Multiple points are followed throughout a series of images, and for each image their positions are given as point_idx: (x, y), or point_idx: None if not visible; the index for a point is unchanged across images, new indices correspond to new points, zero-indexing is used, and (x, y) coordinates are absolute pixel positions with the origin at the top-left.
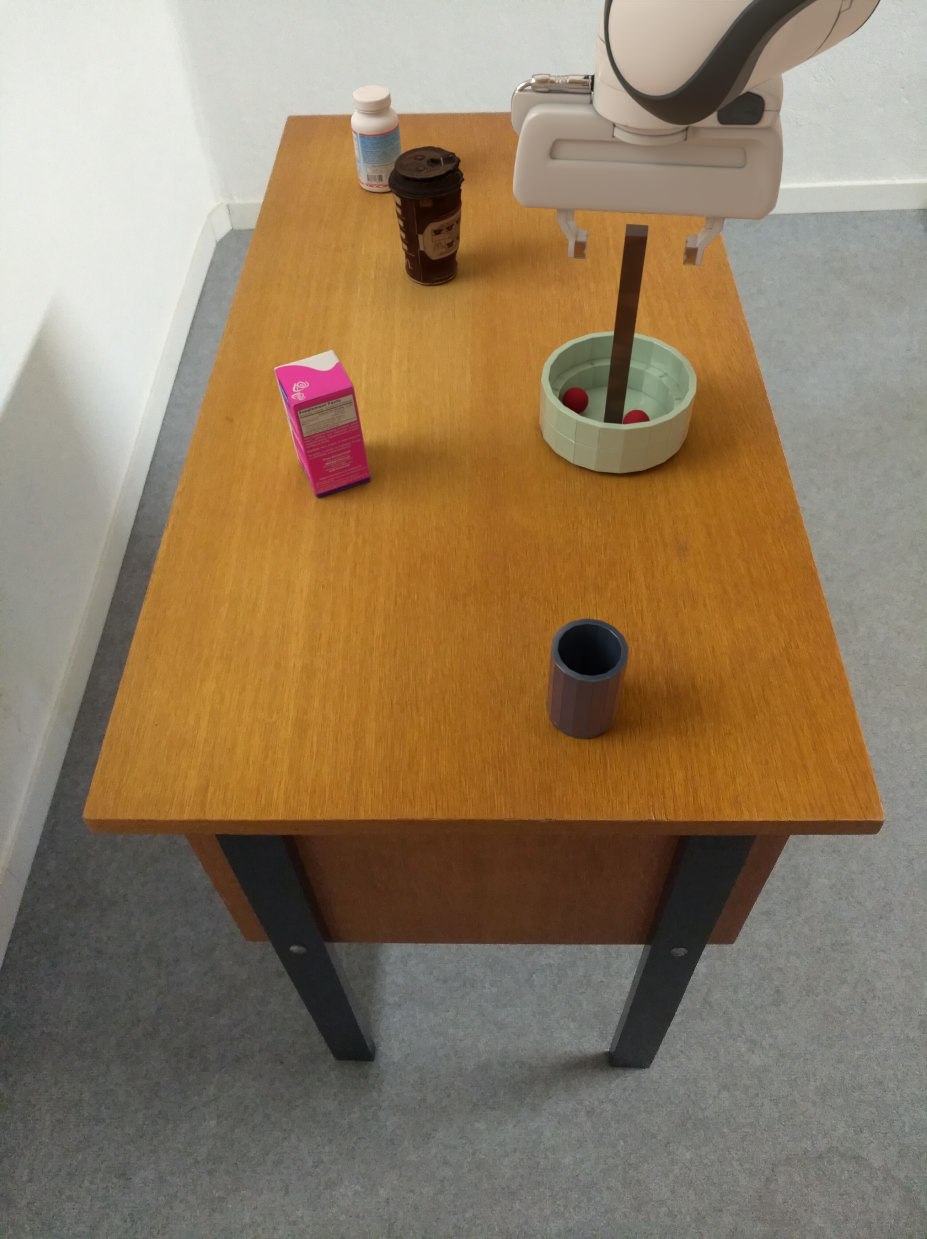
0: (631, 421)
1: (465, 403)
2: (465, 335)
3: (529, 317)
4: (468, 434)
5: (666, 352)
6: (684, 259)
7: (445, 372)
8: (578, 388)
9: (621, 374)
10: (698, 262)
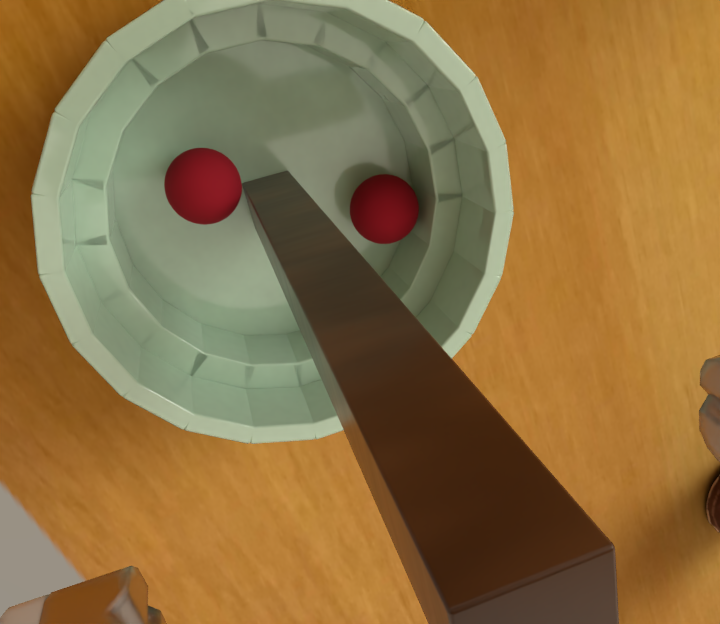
0: (212, 164)
1: (616, 139)
2: (657, 349)
3: (548, 454)
4: (588, 31)
5: (205, 410)
6: (123, 594)
7: (675, 222)
8: (391, 228)
9: (286, 222)
10: (18, 616)
